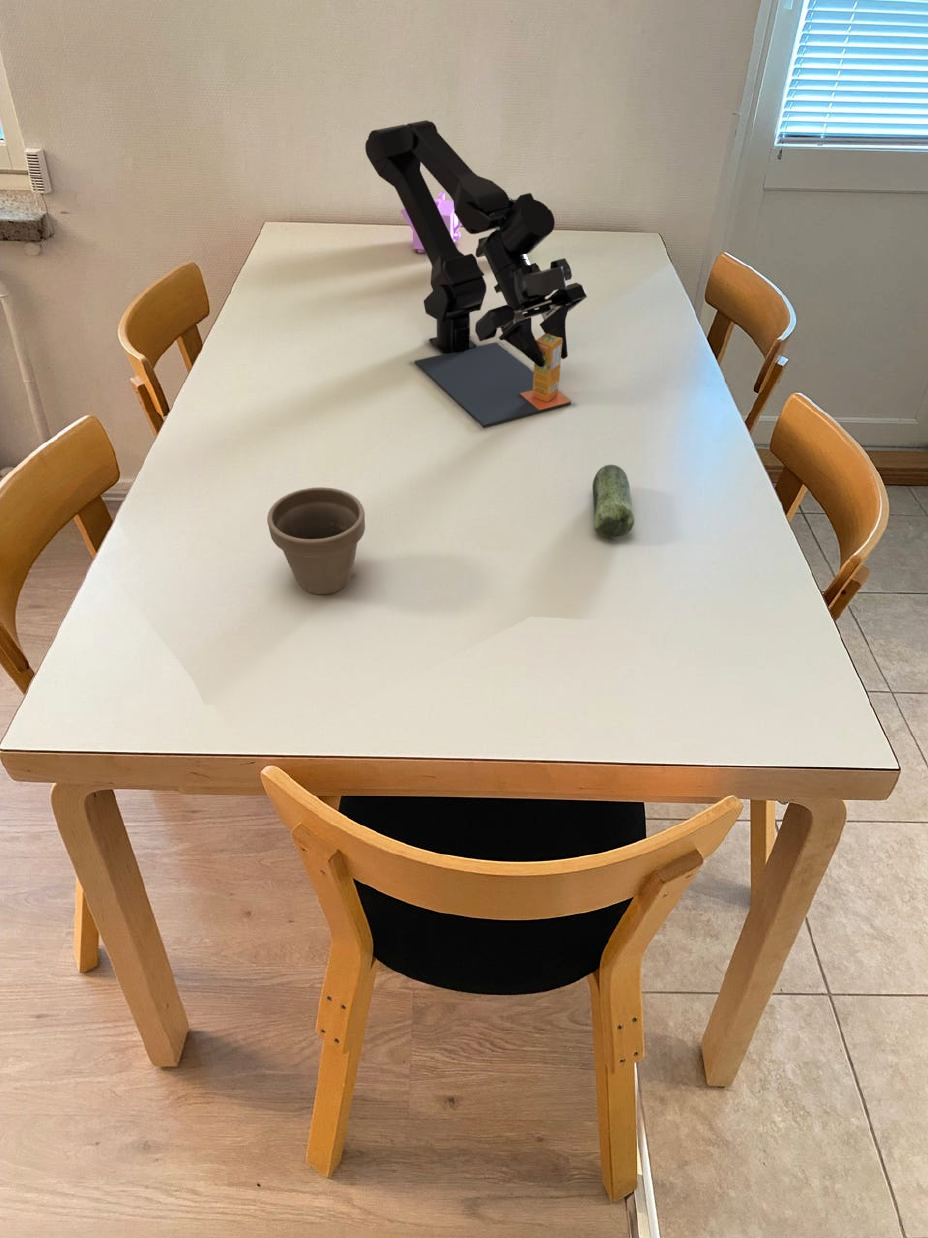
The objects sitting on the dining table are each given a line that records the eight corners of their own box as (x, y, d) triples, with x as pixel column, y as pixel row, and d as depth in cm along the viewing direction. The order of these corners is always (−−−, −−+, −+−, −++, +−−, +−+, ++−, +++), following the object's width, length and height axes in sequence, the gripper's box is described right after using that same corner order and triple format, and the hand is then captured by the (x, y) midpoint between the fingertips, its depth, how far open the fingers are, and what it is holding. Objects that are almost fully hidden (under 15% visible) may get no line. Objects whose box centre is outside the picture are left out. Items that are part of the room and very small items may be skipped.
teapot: (410, 230, 212) (409, 183, 205) (469, 234, 210) (470, 187, 204) (393, 260, 198) (391, 211, 192) (456, 265, 197) (457, 216, 190)
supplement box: (530, 397, 155) (534, 338, 148) (542, 389, 157) (546, 331, 150) (547, 404, 153) (552, 344, 147) (559, 395, 155) (564, 337, 149)
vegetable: (632, 546, 126) (637, 514, 123) (592, 544, 126) (597, 512, 123) (625, 487, 137) (630, 456, 133) (589, 485, 137) (592, 454, 134)
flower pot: (259, 572, 121) (248, 505, 114) (337, 540, 126) (331, 474, 120) (306, 621, 114) (298, 553, 107) (386, 585, 119) (383, 518, 113)
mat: (414, 363, 164) (414, 360, 164) (495, 344, 170) (496, 341, 170) (483, 427, 148) (483, 424, 148) (570, 404, 154) (571, 401, 154)
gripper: (489, 256, 137) (535, 357, 138) (585, 229, 146) (627, 324, 147) (455, 292, 147) (498, 386, 148) (546, 265, 156) (586, 353, 157)
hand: (554, 362), depth 150 cm, fingers open, 4 cm apart
